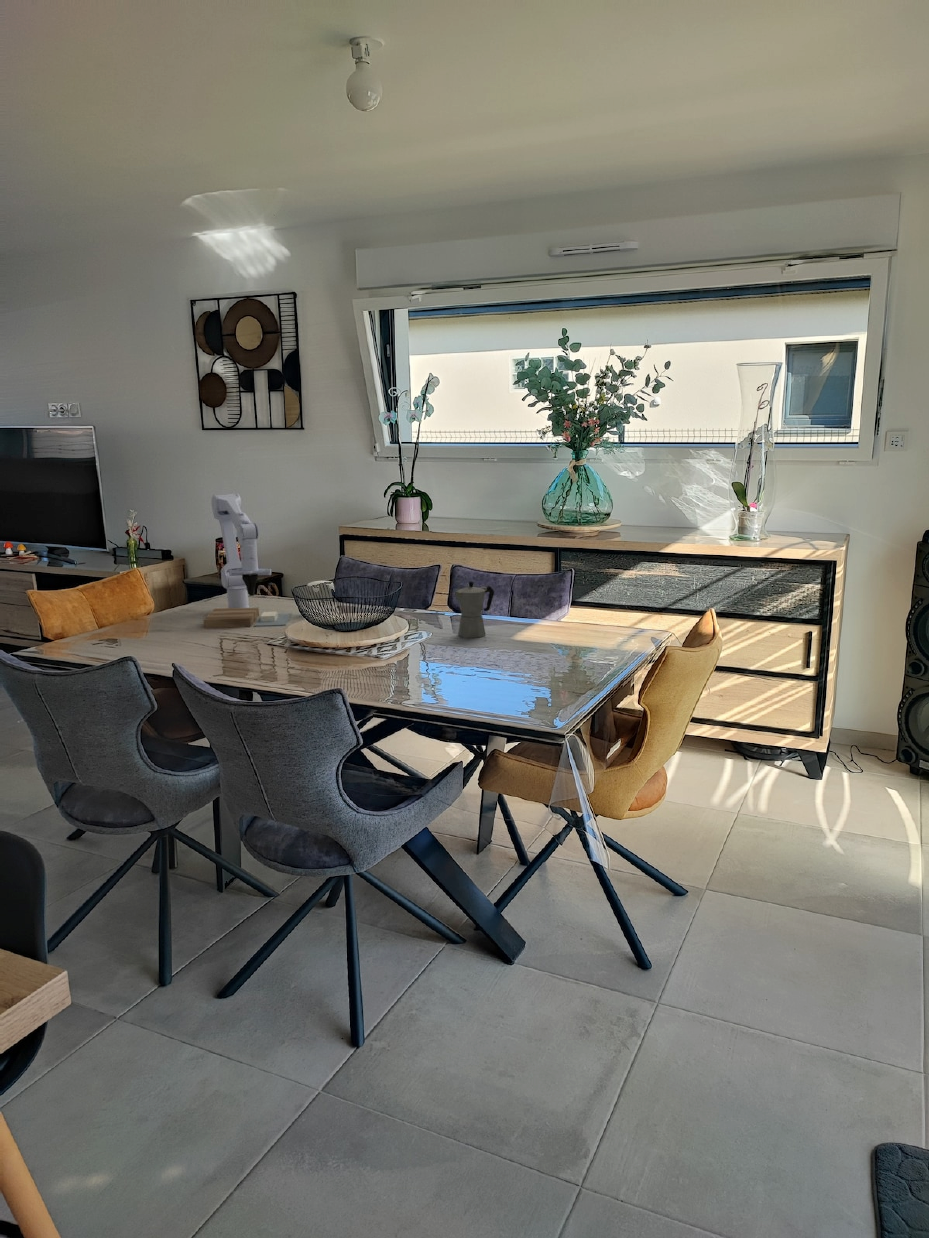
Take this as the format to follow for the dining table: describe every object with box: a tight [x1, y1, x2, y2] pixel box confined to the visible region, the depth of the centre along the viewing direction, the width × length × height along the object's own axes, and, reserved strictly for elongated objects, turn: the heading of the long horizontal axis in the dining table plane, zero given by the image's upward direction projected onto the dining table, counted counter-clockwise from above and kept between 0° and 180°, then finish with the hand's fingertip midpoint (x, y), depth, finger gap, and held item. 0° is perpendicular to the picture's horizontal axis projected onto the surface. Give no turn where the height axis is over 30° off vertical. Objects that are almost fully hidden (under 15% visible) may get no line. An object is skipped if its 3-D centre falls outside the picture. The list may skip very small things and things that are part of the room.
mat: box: [253, 612, 293, 627], centre depth 315 cm, size 18×11×1 cm, turn 4°
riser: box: [203, 606, 260, 629], centre depth 314 cm, size 18×16×3 cm
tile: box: [259, 611, 279, 622], centre depth 315 cm, size 7×5×2 cm
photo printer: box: [306, 580, 335, 592], centre depth 323 cm, size 10×4×12 cm, turn 109°
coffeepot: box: [453, 580, 495, 639], centre depth 288 cm, size 15×9×18 cm, turn 121°
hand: (251, 595), depth 313 cm, fingers closed
